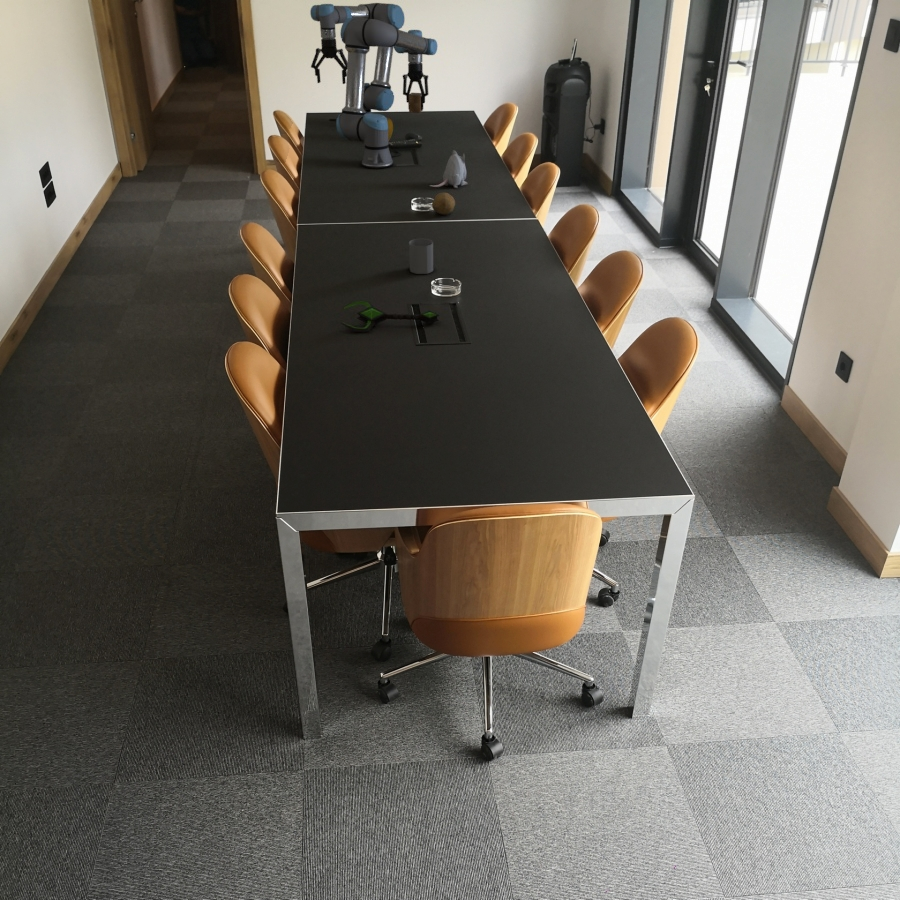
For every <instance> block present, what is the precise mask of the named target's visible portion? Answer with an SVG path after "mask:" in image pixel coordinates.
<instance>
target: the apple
mask: <svg viewBox="0 0 900 900" xmlns="http://www.w3.org/2000/svg"><path fill="white" fill-rule="evenodd" d="M386 118H387V122H388V142H389V141H390V140H391V138H392V135H393V132H394V124H393V123H394V122H393V120H391V118H390V117H386Z"/></svg>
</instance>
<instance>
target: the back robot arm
mask: <svg viewBox="0 0 900 900" xmlns="http://www.w3.org/2000/svg"><path fill="white" fill-rule="evenodd" d="M310 17H311V19H312V20H313V21H315V22H319V26H320V27H319V28H320V29H319V30H320V38H321V39H320V44H321V48H320V47H317V48H316V49H315V54H314V57H313V60H312V62H311V64H310V68H311V69H313V70H314V76H315V77H316V80H317V81H316V82H317V83H316V84H320V83H321V70H320V68H319V67H320V66H321V65H322V63H323V62H324V60H325V59H332V60H333V59H334V61H336V62H337V64H338V65H339V66H340V67H341V76H342V77H341V82H342V85H346V82H347V81H346V78H347V63H348V59H347V58H346V56H345V53H344V49H343V48H339V49H338V47H337V39H336V36H337V34H336V33H337V32H336V25H339V24H343V23H344V22H345V20H346V19H348V18H356V17H357V18H365V19H376V20H379V21H382V22H385V23H387V24H390V25H393V26H395V27H396V28H397V29H398V30H400V29H402V28H403V26H404V25H405V13H404V11H403V8H402V7H401V6H400V5H398V4H395V3H383V2H370V3H360V4H358V5H334V4H333V3H321V4H314V5H312V6H311V8H310ZM321 53H322V55H321V57H320V58H319V55H320V54H321ZM338 54H339V56H338ZM393 54H394V46H393V47H383V46H379V47H377V49H376V58H375V66H374V73H373V80H372V81H371V82H364V98H363V109H364V110H365V111H366V114H367V113H372V110H373V111H378V112H387V111H389V110H390V109H391V108H392V107H393V104H394V101H395V95H394V91H393V90H392V86H391V84H390V78H391V70H392V63H393V62H392V61H393ZM318 58H319V60H318ZM340 58H341V59H340ZM328 120H329V121H331V122H333V121H335V122H336V120H337V118H329V119H328Z"/></svg>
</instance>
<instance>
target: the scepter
mask: <svg viewBox="0 0 900 900" xmlns="http://www.w3.org/2000/svg"><path fill="white" fill-rule="evenodd" d="M357 305H360V306H361V305H362V306H365V307H367V308H364V309H363V310H360V311H358V312H357V313H356V315H359V316H358V317H357V318H356V319H357V320H358V321H361V322H362V323H364V324H366V326H365V327H355V326H352V325H351V324H348V323H345V322H341V325H343V326H344V327H346V328H348V330H351V331H353V332H357V333H368V332H370V330H371V329H372V328H373V326H376V325H377V324H380V323H382V322H384V321H386V320H401V321H402V320H409V321H411V320H413V321H418V320H420V322H423V323H425V324H428V325H431V324H434V323H437V322H438V321H439V319H438V317H440V314H438V313H436V312H433V311H432V310H428V311H426V312H423V313H420V314H409V313H408V314H407V313H405V314H403V313H401V314H399V313H398V314H397V313H386V312H384V311H383V310H380V309H378V308H377V307H376V306H375V307H374V306H373V304H372V303H371V302H370V301H369V300H355V301H352V302H350V303H348V304H346V305H345V306H343V307H342V310H344V309H345V310H346V309H347V308H350V307H353V306H357Z"/></svg>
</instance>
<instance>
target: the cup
mask: <svg viewBox="0 0 900 900" xmlns="http://www.w3.org/2000/svg"><path fill="white" fill-rule="evenodd" d="M408 253H409V272H411V273H412V274H416V275H426V274H430V273H432V272H434V241H433V240H431V239H428V238H422V237H421V238H420V237H419V238H414V239H411V240H410V241H409V242H408Z"/></svg>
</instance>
